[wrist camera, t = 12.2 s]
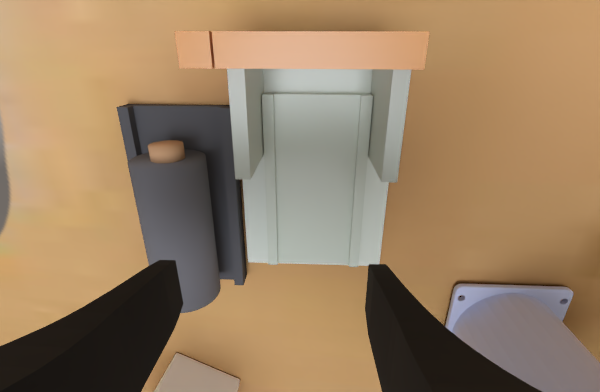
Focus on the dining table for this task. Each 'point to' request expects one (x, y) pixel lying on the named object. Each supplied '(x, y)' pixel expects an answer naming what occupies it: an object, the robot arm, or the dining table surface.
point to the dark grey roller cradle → (220, 165)
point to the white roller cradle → (316, 160)
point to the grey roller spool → (178, 217)
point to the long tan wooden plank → (302, 49)
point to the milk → (195, 377)
